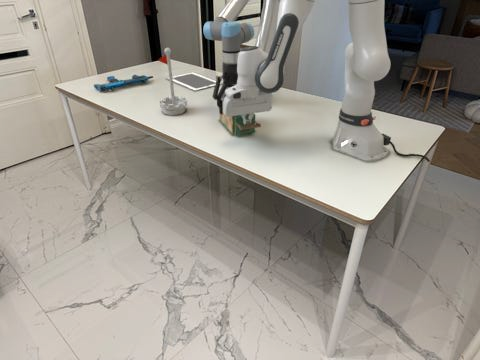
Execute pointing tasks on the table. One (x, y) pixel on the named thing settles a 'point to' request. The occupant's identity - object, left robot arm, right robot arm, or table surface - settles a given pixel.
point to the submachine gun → (121, 82)
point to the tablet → (194, 81)
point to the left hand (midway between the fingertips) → (232, 111)
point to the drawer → (244, 125)
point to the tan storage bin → (228, 122)
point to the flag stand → (174, 103)
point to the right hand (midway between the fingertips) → (247, 123)
